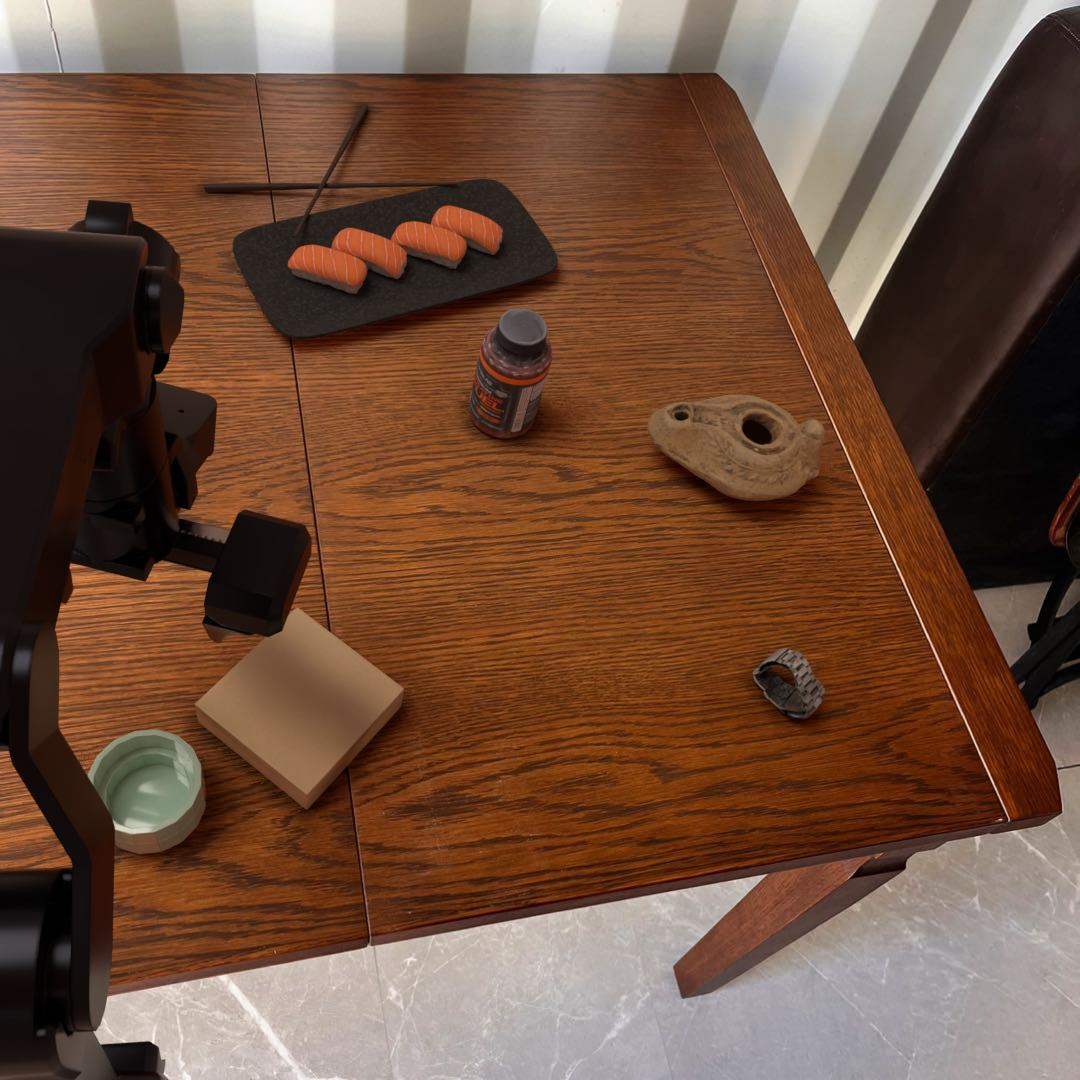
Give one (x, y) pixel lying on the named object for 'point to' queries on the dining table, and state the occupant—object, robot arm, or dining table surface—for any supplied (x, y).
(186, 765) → the bowl
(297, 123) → the dining table surface
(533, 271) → the sushi plate
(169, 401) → the robot arm
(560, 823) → the dining table surface
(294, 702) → the plate
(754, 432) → the oil lamp
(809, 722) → the dining table surface
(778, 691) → the wristwatch
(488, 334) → the supplement bottle
